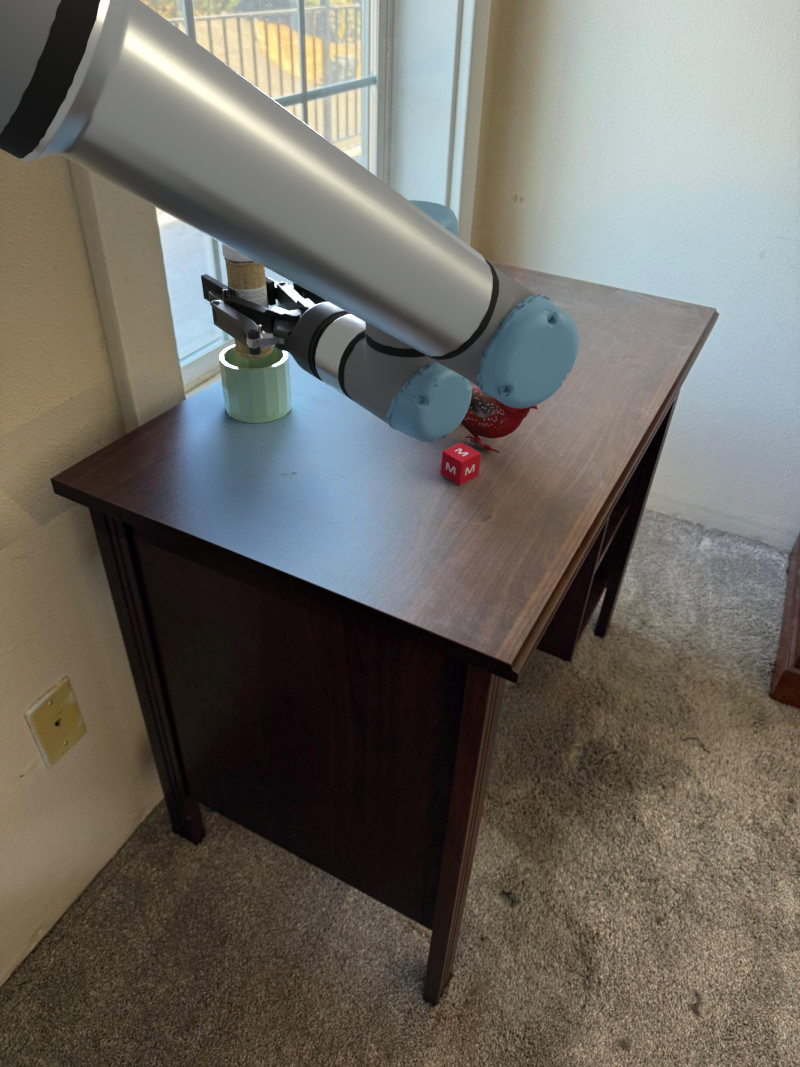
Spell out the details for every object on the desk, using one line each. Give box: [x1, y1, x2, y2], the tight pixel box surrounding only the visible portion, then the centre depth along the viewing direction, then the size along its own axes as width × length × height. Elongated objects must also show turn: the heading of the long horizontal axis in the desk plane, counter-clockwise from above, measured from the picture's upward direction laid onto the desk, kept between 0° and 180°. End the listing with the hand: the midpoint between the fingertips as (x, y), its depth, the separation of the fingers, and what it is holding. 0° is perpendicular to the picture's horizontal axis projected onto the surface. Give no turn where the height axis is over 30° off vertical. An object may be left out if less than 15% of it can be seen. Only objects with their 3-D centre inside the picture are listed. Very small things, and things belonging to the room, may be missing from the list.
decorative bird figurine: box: [460, 385, 539, 454], centre depth 86 cm, size 3×18×10 cm, turn 47°
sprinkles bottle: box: [221, 243, 273, 359], centre depth 85 cm, size 5×5×14 cm
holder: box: [218, 343, 292, 424], centre depth 92 cm, size 8×8×7 cm
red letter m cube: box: [440, 442, 482, 486], centre depth 82 cm, size 3×3×3 cm
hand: (224, 281), depth 88 cm, fingers closed on sprinkles bottle, 4 cm apart
